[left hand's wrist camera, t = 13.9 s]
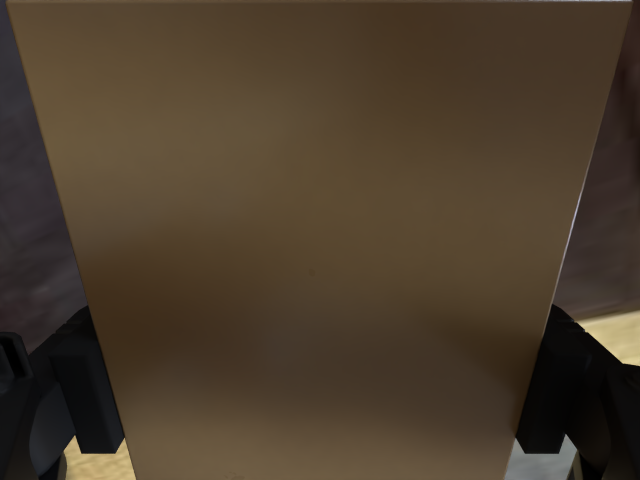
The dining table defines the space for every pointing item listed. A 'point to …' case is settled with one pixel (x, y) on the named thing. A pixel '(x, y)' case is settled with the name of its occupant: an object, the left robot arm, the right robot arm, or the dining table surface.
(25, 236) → the dining table surface
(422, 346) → the thick board
